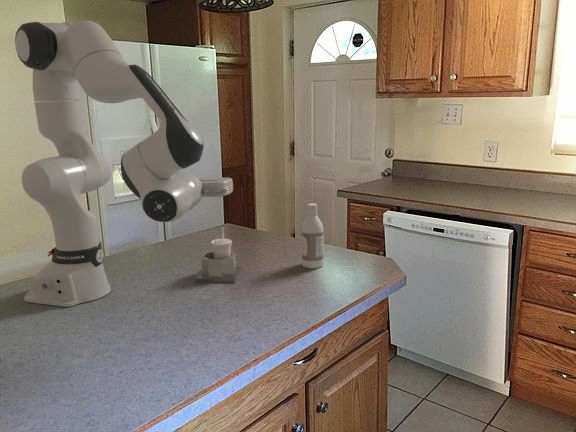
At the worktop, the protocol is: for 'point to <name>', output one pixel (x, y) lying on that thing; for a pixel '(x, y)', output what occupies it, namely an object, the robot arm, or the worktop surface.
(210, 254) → the octagonal cup holder
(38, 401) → the worktop surface
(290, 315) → the worktop surface
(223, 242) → the smoothie
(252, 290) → the worktop surface
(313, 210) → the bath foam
